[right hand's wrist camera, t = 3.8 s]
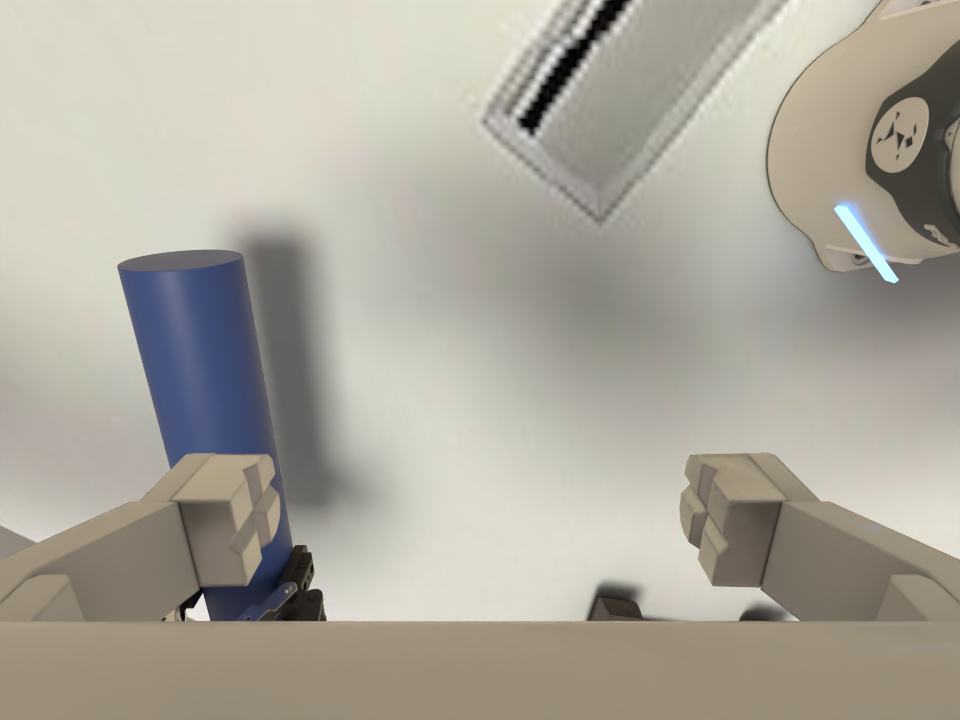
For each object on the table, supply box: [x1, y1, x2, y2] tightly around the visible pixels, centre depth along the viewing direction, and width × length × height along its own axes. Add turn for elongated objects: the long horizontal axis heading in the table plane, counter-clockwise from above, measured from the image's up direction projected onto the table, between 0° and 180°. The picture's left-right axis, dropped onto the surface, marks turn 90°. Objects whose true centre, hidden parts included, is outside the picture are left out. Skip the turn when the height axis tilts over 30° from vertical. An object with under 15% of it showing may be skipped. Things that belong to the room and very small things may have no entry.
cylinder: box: [117, 250, 293, 621], centre depth 33 cm, size 26×6×6 cm, turn 0°
